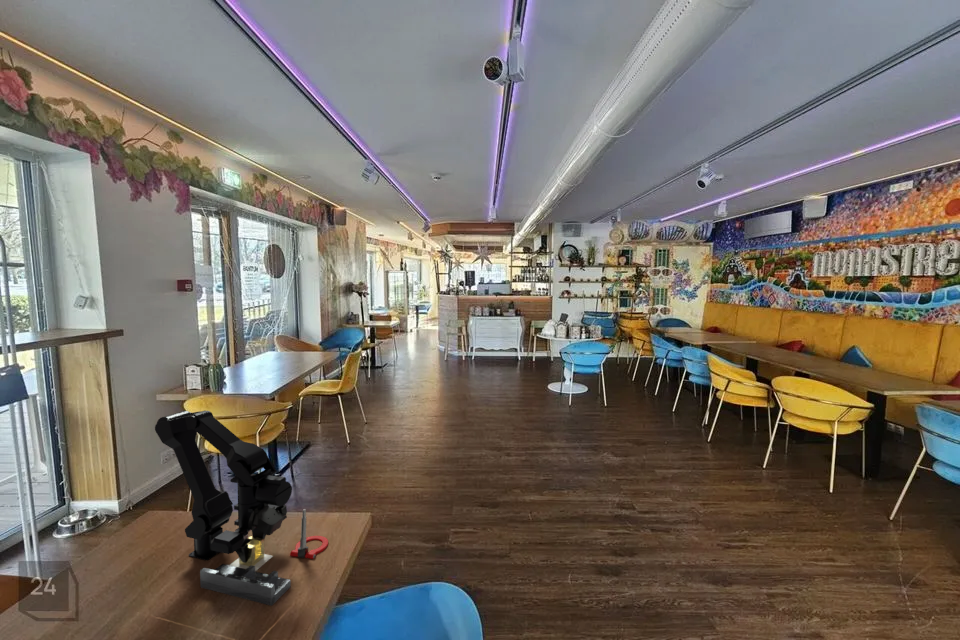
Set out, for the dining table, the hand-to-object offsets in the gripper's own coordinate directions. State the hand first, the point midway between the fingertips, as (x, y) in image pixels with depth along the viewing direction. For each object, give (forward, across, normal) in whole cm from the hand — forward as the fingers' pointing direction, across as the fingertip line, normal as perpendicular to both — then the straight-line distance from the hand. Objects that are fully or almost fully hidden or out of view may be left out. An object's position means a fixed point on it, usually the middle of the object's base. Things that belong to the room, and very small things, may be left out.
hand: (251, 556), depth 104 cm
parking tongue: (+1, 0, 0) cm, 1 cm away
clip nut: (+1, 0, 0) cm, 1 cm away
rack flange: (+1, -8, -6) cm, 10 cm away
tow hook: (+2, +9, -11) cm, 14 cm away
